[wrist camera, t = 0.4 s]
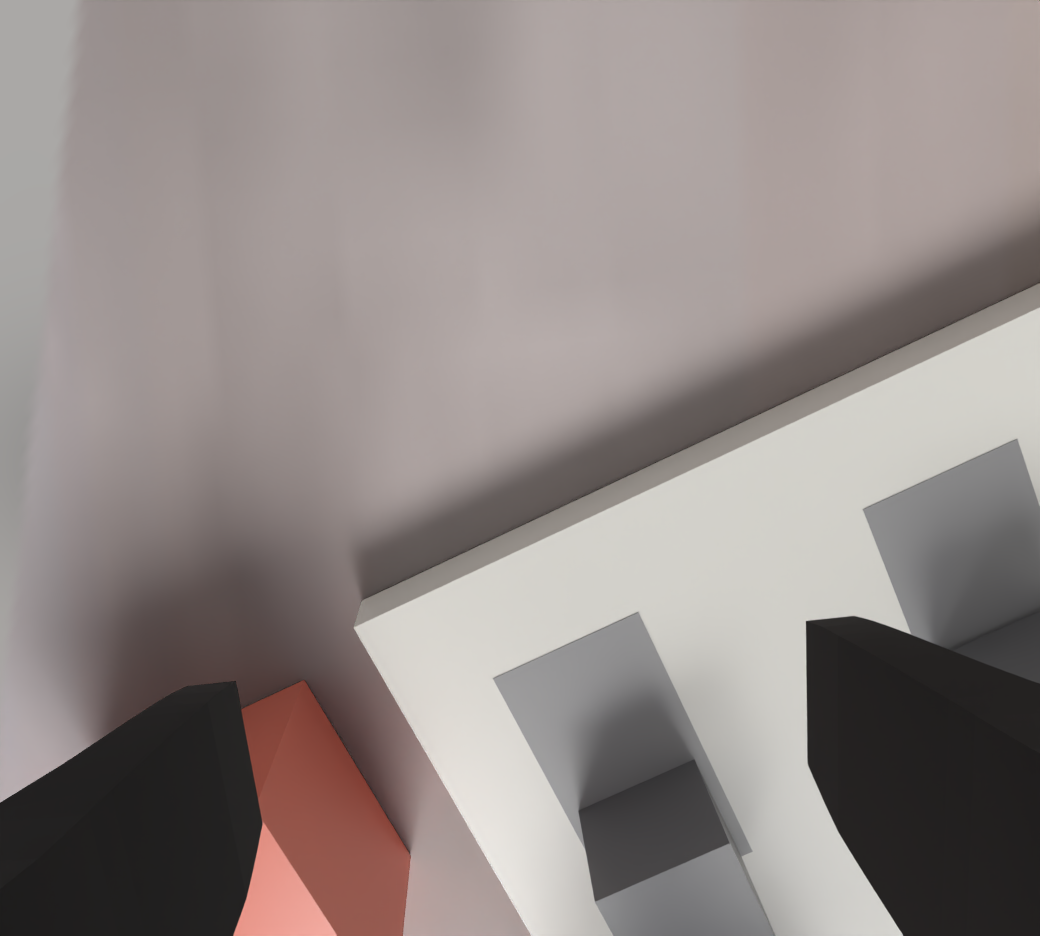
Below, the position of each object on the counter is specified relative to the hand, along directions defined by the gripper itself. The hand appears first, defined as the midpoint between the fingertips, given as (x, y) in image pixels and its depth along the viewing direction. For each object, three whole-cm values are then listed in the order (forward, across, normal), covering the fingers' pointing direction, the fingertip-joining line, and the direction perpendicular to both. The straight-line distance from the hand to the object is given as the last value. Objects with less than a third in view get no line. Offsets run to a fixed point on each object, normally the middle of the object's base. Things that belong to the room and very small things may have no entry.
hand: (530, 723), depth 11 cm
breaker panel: (+10, -8, +6) cm, 14 cm away
